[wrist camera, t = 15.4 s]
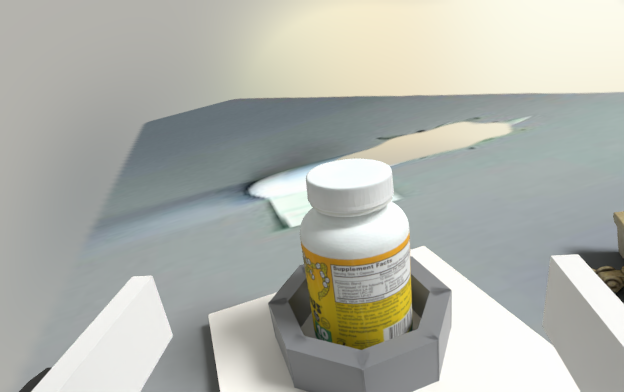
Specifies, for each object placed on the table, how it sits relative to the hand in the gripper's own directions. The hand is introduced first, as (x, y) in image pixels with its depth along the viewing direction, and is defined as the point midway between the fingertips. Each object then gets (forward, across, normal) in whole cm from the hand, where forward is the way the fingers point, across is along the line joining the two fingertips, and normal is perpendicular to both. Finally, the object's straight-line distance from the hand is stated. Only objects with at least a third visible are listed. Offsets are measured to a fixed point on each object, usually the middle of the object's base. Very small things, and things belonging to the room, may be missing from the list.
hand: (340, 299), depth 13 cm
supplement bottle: (+7, 0, -8) cm, 10 cm away
